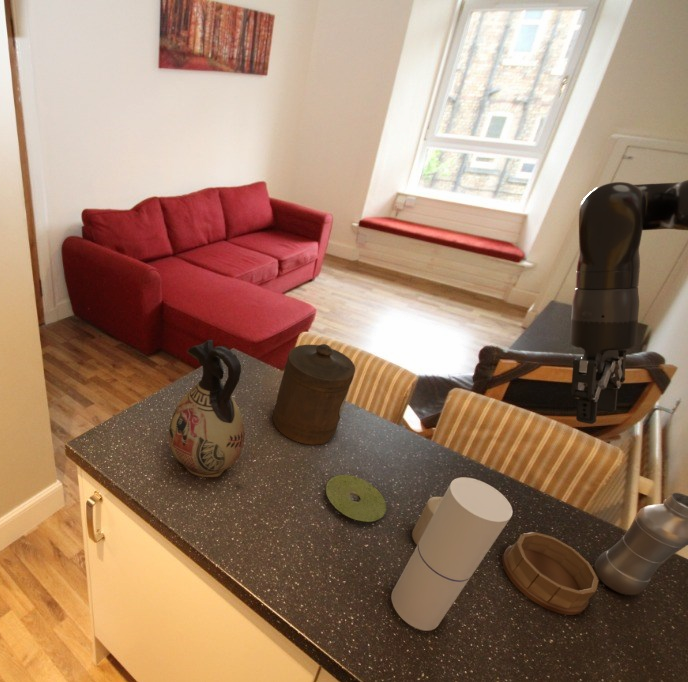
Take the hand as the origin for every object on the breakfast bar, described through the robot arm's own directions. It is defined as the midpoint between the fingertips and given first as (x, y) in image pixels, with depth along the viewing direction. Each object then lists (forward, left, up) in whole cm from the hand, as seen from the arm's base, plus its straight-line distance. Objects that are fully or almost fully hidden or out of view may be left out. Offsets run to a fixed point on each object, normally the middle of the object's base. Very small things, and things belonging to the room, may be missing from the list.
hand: (596, 415), depth 72 cm
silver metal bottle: (-12, +7, -27) cm, 31 cm away
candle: (+18, +10, -27) cm, 34 cm away
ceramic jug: (+61, +7, -27) cm, 67 cm away
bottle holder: (0, +11, -27) cm, 29 cm away
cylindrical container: (+22, +24, -27) cm, 43 cm away
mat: (+31, +6, -27) cm, 42 cm away
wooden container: (+42, -15, -27) cm, 52 cm away
